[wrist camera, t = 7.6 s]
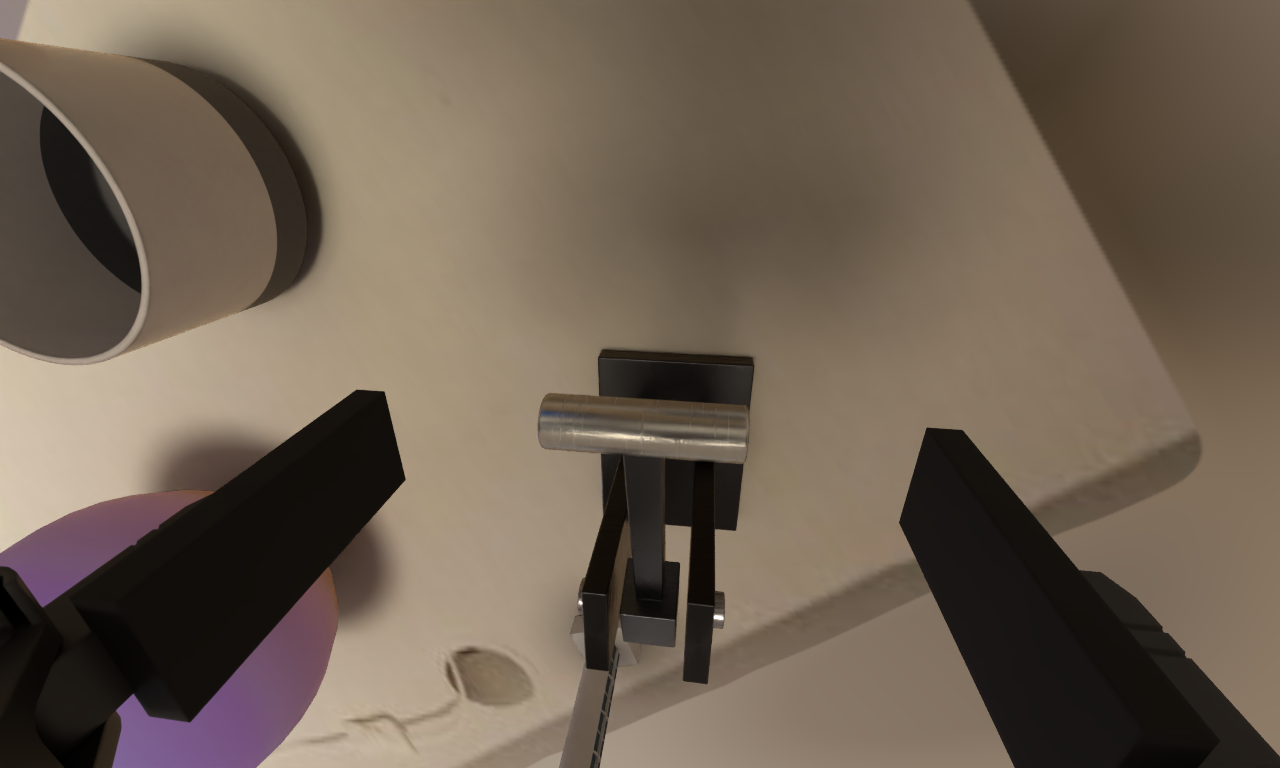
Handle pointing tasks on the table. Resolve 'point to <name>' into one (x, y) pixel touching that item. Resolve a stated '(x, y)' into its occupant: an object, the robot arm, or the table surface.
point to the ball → (252, 697)
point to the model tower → (593, 702)
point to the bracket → (666, 501)
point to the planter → (132, 204)
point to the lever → (646, 482)
